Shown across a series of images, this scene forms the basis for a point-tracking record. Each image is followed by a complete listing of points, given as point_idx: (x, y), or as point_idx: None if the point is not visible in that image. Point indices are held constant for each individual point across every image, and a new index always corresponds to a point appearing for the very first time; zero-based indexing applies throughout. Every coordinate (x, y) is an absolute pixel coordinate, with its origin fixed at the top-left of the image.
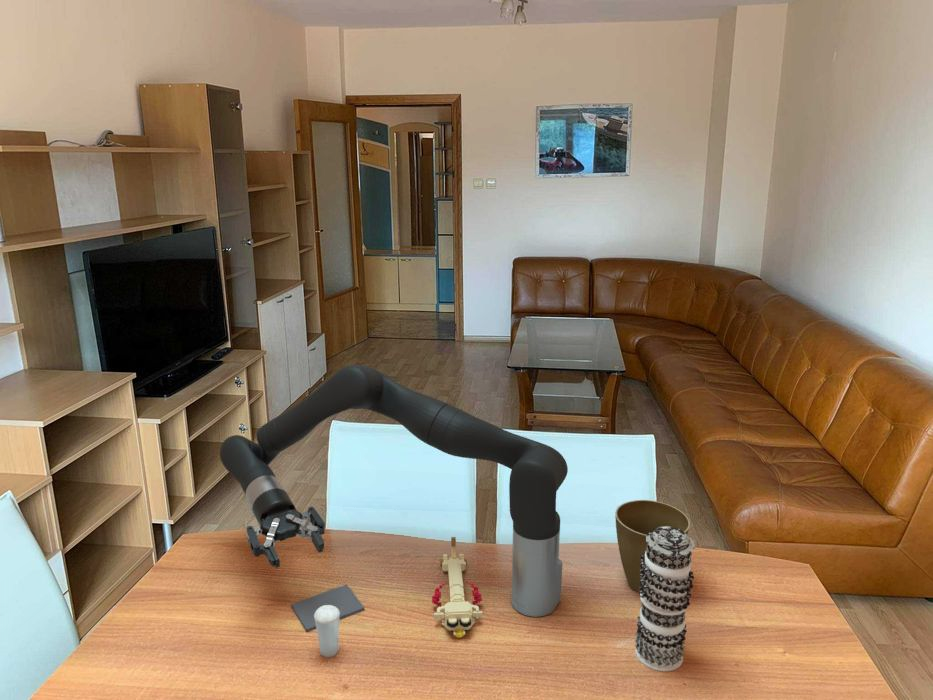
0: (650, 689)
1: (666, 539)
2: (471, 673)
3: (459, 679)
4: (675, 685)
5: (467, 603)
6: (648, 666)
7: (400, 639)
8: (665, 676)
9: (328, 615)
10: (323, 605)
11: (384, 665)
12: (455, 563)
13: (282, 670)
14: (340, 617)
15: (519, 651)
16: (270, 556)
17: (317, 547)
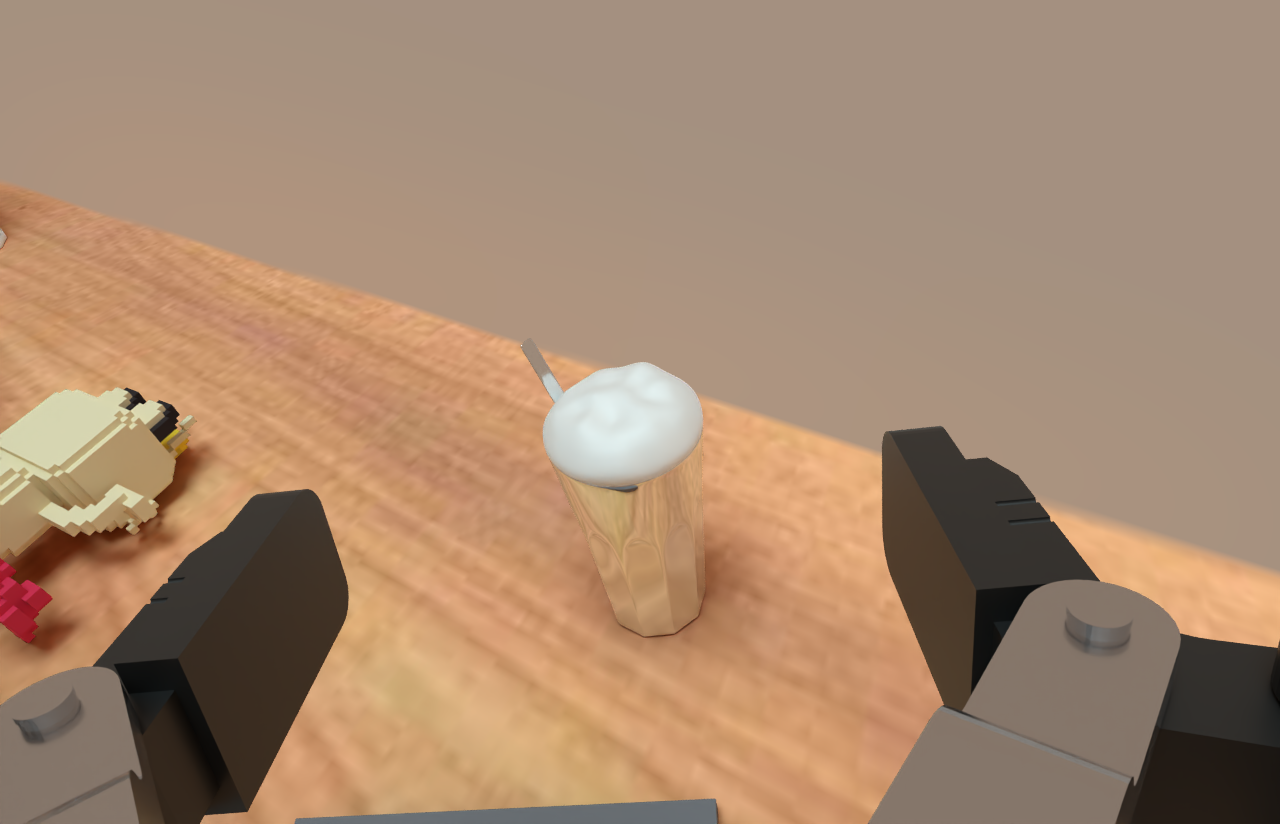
0: (79, 212)
1: None
2: (302, 336)
3: (348, 331)
4: (38, 208)
5: (12, 432)
6: (2, 242)
7: (343, 534)
8: (18, 224)
9: (627, 368)
10: (611, 452)
11: (495, 445)
12: None
13: None
14: (471, 815)
15: (121, 354)
16: (1015, 505)
17: (314, 603)
